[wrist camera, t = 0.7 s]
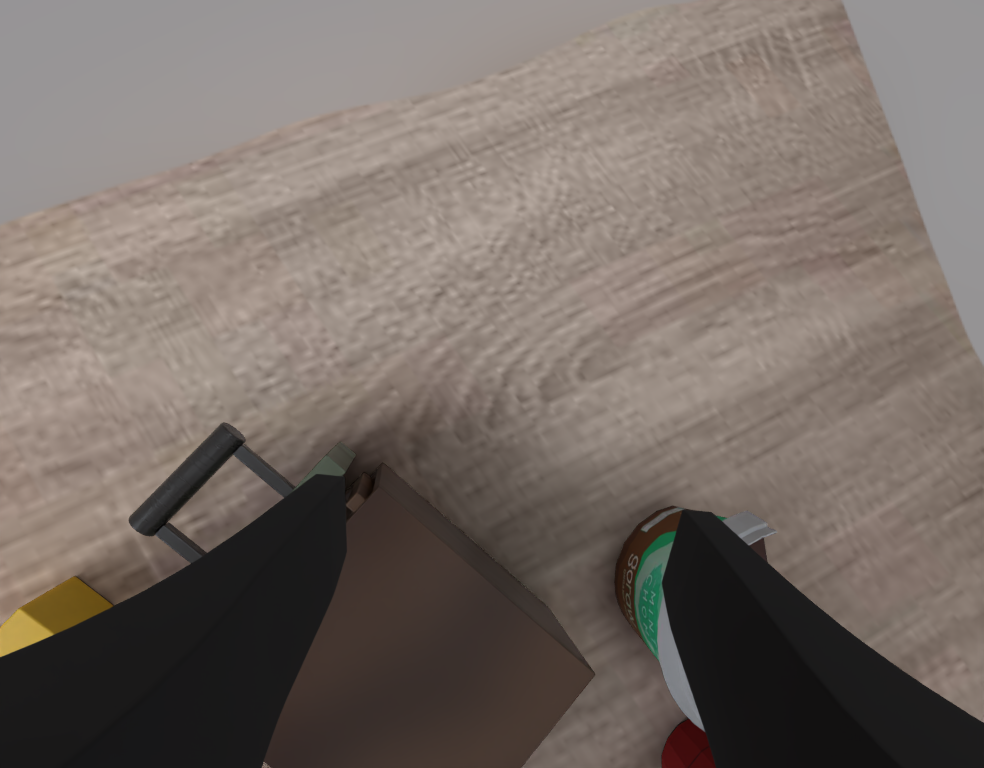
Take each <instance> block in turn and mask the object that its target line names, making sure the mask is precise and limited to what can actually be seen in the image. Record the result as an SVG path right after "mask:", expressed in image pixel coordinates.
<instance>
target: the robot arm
mask: <svg viewBox="0 0 984 768" xmlns="http://www.w3.org/2000/svg"><path fill="white" fill-rule="evenodd" d="M346 554H347V535H346V504H345V477H344V476H334V475H324V474H315V475H314V476H313V477H311V478H310V479H309V480H307V481H306V482H305V483H303V484H302V485H301V486H299V487H298V488H297V489H295V490H294V491H293V492H292V493H290V494H289V495H288V496H286V497H285V498H284V499H282V500H281V501H280V502H279V503H277V504H276V505H275V506H273V507H272V508H271V509H269V510H268V511H267V512H265V513H264V514H263V515H261V516H260V517H259V518H257V519H256V520H255V521H253V522H252V523H251V524H249V525H248V526H246V527H245V528H244V529H242V530H241V531H239V532H238V533H236V534H235V535H234V536H232V537H231V538H229V539H228V540H226V541H225V542H223V543H222V544H220V545H219V546H217V547H216V548H214V549H213V550H211V551H210V552H208V553H207V554H205V555H204V556H202V557H201V558H199V559H198V560H196V561H195V562H193V563H191V564H190V565H188V566H186V567H185V568H183V569H181V570H180V571H178V572H176V573H175V574H173V575H171V576H169V577H168V578H166V579H164V580H162V581H161V582H159V583H157V584H155V585H154V586H152V587H150V588H148V589H146V590H145V591H143V592H141V593H139V594H137V595H135V596H133V597H131V598H129V599H127V600H125V601H123V602H121V603H119V604H117V605H115V606H113V607H111V608H109V609H107V610H105V611H103V612H101V613H99V614H97V615H95V616H93V617H91V618H89V619H87V620H85V621H83V622H81V623H79V624H77V625H74V626H72V627H70V628H68V629H66V630H63V631H61V632H59V633H56V634H54V635H52V636H50V637H47V638H45V639H43V640H40V641H38V642H36V643H34V644H31V645H29V646H26V647H24V648H21V649H19V650H17V651H14V652H12V653H9V654H7V655H4V656H2V657H0V768H261V767H262V764H263V762H264V759H265V756H266V753H267V750H268V747H269V744H270V741H271V739H272V736H273V733H274V730H275V727H276V724H277V722H278V719H279V717H280V714H281V712H282V709H283V707H284V704H285V702H286V700H287V697H288V695H289V693H290V691H291V688H292V686H293V684H294V682H295V680H296V677H297V675H298V673H299V671H300V669H301V667H302V664H303V662H304V660H305V658H306V656H307V653H308V651H309V649H310V647H311V645H312V642H313V640H314V638H315V636H316V634H317V631H318V629H319V627H320V625H321V623H322V620H323V618H324V616H325V614H326V611H327V609H328V607H329V605H330V602H331V600H332V598H333V595H334V592H335V589H336V586H337V583H338V580H339V577H340V574H341V570H342V567H343V564H344V560H345V557H346ZM662 588H663V593H664V599H665V604H666V609H667V614H668V619H669V624H670V628H671V632H672V635H673V638H674V641H675V644H676V647H677V650H678V653H679V656H680V659H681V662H682V665H683V668H684V671H685V674H686V677H687V680H688V683H689V686H690V689H691V692H692V695H693V698H694V701H695V704H696V706H697V709H698V712H699V715H700V718H701V721H702V724H703V727H704V730H705V733H706V736H707V739H708V742H709V746H710V749H711V752H712V756H713V759H714V763H715V766H716V768H984V723H983V722H981V721H980V720H978V719H976V718H975V717H973V716H971V715H970V714H968V713H967V712H965V711H964V710H962V709H960V708H959V707H957V706H956V705H954V704H953V703H951V702H949V701H948V700H946V699H945V698H943V697H942V696H940V695H939V694H937V693H935V692H934V691H932V690H931V689H929V688H928V687H926V686H924V685H923V684H922V683H920V682H919V681H917V680H916V679H914V678H913V677H911V676H910V675H908V674H907V673H905V672H904V671H902V670H901V669H899V668H898V667H897V666H895V665H894V664H892V663H891V662H890V661H888V660H887V659H886V658H884V657H883V656H881V655H880V654H879V653H877V652H876V651H875V650H873V649H872V648H870V647H869V646H868V645H866V644H865V643H863V642H862V641H861V640H859V639H858V638H857V637H855V636H854V635H853V634H852V633H850V632H849V631H848V630H846V629H845V628H844V627H842V626H841V625H840V624H839V623H838V622H836V621H835V620H834V619H833V618H831V617H830V616H829V615H828V614H826V613H825V612H824V611H823V610H822V609H820V608H819V607H818V606H817V605H815V604H814V603H813V602H812V601H811V600H809V599H808V598H807V597H806V596H805V595H804V594H802V593H801V592H800V591H799V590H798V589H797V588H795V587H794V586H793V585H792V584H791V583H790V582H789V581H787V580H786V579H785V578H784V577H783V576H782V575H781V574H780V573H778V572H777V571H776V570H775V569H774V568H773V567H772V566H771V565H769V564H768V563H767V562H766V561H765V560H764V559H763V558H762V557H761V556H760V555H759V554H757V553H756V552H755V551H754V550H753V549H752V548H751V547H750V546H749V545H748V544H747V543H746V542H744V541H743V540H742V539H741V538H740V537H739V536H738V535H737V534H736V533H735V532H734V531H732V530H731V529H730V528H729V527H728V526H727V525H726V524H725V523H724V522H722V521H721V520H720V519H719V518H718V517H717V516H715V515H714V514H713V513H712V512H704V511H694V510H684V509H682V513H681V516H680V520H679V523H678V527H677V530H676V534H675V537H674V541H673V544H672V548H671V551H670V555H669V558H668V562H667V565H666V569H665V572H664V576H663V579H662Z"/></svg>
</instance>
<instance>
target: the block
mask: <svg viewBox="0 0 984 768" xmlns="http://www.w3.org/2000/svg"><path fill="white" fill-rule="evenodd" d="M111 607H113V605H112V604H111V603H109V602H108V601H107V600H105V599H104V598H103V597H101V596H100V595H99V594H98V593H96V592H95V591H94V590H92V589H91V588H90V587H88V586H87V585H86V584H85V583H83V582H82V581H81V580H79V579H78V578H77V577H75V576H74V577H72V578H70V579H68V580H67V581H65V582H63V583H61V584H60V585H58V586H56V587H55V588H53V589H51V590H50V591H48V592H46V593H44V594H43V595H41V596H39V597H38V598H36V599H34V600H32V601H31V602H29V603H27V604H26V605H24V606H22V607H20V608H19V609H18V610H17V611H16V612H15V613H14V614H13V615H12V616H11V617H10V618H9V619H8V620H7V621H6V622H5V623H4V624H3V625H2V626H1V627H0V657H2V656H4V655H7V654H9V653H12V652H14V651H17V650H19V649H21V648H24V647H26V646H29V645H31V644H34V643H36V642H38V641H40V640H43V639H45V638H47V637H50V636H52V635H54V634H56V633H59V632H61V631H63V630H66V629H68V628H70V627H72V626H74V625H77V624H79V623H81V622H83V621H85V620H87V619H89V618H91V617H93V616H95V615H97V614H99V613H101V612H103V611H105V610H107V609H109V608H111Z"/></svg>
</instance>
